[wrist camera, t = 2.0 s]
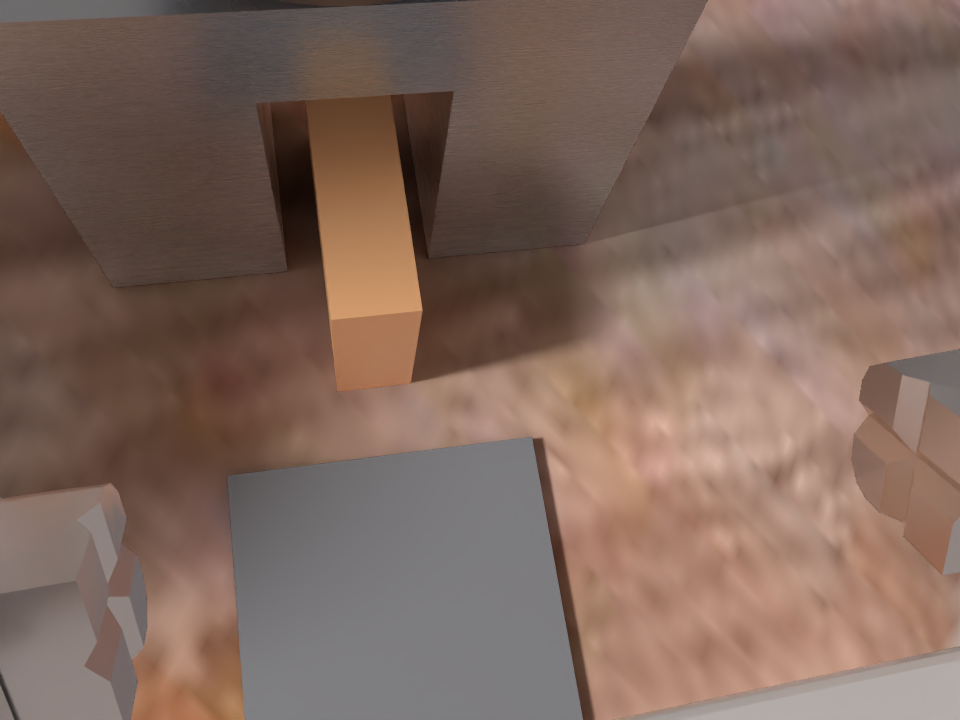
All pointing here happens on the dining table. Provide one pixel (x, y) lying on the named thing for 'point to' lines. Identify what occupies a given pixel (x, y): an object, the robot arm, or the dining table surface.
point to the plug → (364, 241)
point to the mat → (401, 589)
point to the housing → (327, 75)
